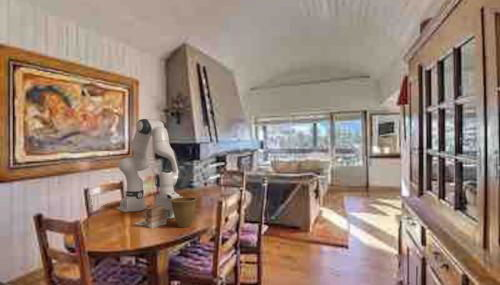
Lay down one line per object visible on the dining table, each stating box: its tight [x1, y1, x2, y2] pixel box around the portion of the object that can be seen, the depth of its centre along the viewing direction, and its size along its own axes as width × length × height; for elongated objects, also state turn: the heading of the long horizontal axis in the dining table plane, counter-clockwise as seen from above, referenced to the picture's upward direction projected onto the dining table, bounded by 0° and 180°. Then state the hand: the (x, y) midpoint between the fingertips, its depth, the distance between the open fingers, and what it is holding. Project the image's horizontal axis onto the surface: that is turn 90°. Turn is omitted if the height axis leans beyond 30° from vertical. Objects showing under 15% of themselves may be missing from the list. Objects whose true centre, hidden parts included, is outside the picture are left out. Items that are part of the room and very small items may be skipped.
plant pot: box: [171, 196, 197, 228], centre depth 191 cm, size 15×15×16 cm
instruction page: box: [133, 220, 145, 226], centre depth 199 cm, size 7×9×1 cm
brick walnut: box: [145, 205, 165, 218], centre depth 193 cm, size 5×10×5 cm, turn 145°
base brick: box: [144, 214, 168, 229], centre depth 193 cm, size 6×11×6 cm, turn 144°
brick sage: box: [165, 209, 175, 220], centre depth 208 cm, size 5×10×5 cm, turn 143°
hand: (167, 215), depth 208 cm, fingers closed on brick sage, 5 cm apart
